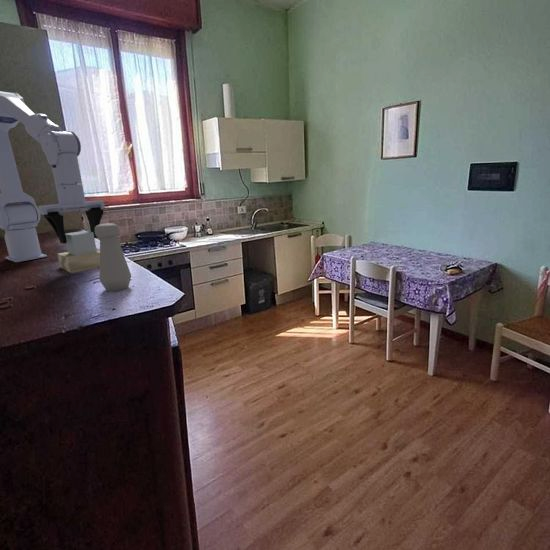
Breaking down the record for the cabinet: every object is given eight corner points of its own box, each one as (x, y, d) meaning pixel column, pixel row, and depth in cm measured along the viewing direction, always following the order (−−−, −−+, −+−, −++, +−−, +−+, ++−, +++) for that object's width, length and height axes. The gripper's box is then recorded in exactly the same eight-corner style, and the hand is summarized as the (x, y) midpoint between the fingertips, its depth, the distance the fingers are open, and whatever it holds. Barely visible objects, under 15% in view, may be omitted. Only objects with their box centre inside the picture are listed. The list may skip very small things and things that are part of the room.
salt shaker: (137, 283, 74) (128, 221, 71) (124, 293, 69) (112, 225, 65) (111, 284, 75) (100, 222, 71) (95, 293, 70) (82, 226, 66)
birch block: (60, 268, 92) (57, 253, 91) (97, 261, 98) (94, 247, 97) (71, 274, 86) (67, 258, 85) (109, 266, 92) (106, 251, 91)
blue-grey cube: (68, 253, 90) (64, 233, 89) (88, 249, 94) (85, 230, 93) (76, 255, 87) (71, 235, 86) (96, 251, 91) (93, 232, 89)
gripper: (41, 186, 78) (54, 247, 82) (106, 182, 89) (115, 236, 93) (30, 186, 83) (43, 244, 86) (93, 183, 93) (102, 234, 97)
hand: (80, 240), depth 90 cm, fingers open, 7 cm apart
